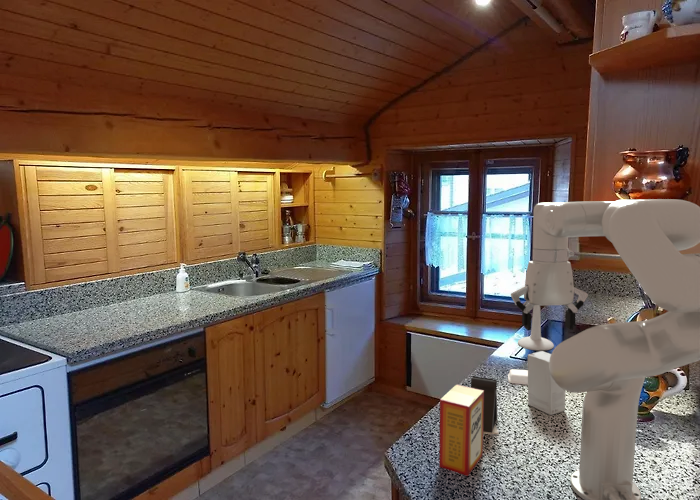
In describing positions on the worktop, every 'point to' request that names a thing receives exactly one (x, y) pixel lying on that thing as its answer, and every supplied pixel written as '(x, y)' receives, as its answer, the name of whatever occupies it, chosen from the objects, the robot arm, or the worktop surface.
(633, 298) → the worktop surface
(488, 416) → the black tapered piece
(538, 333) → the candlestick
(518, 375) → the soap
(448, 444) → the baking soda box
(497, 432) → the pad
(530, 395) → the skincare box
